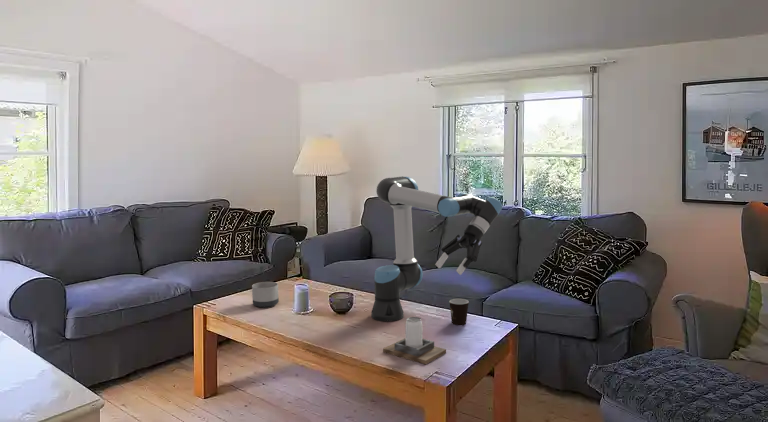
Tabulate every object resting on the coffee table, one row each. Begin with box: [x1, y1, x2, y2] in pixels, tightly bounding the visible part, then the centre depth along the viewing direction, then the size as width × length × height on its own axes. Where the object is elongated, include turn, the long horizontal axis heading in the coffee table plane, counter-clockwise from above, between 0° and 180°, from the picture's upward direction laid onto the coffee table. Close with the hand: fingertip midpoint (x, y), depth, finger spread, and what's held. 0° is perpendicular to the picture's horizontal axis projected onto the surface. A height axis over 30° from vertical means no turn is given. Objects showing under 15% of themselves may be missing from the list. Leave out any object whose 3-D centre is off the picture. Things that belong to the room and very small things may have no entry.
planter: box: [251, 281, 280, 308], centre depth 278 cm, size 13×13×10 cm
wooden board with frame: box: [382, 337, 447, 365], centre depth 213 cm, size 20×14×4 cm
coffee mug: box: [448, 298, 470, 326], centre depth 249 cm, size 12×9×10 cm
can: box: [405, 316, 423, 349], centre depth 212 cm, size 6×6×12 cm
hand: (447, 269), depth 223 cm, fingers open, 13 cm apart
